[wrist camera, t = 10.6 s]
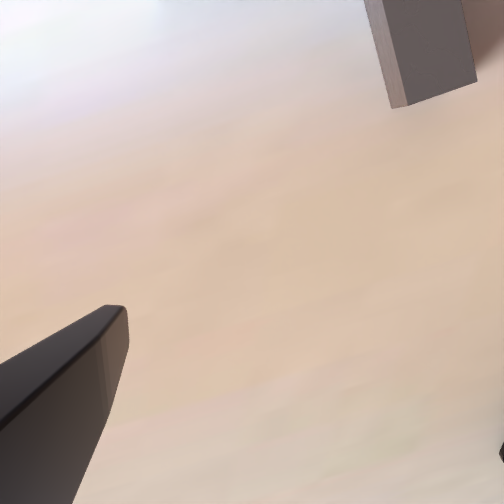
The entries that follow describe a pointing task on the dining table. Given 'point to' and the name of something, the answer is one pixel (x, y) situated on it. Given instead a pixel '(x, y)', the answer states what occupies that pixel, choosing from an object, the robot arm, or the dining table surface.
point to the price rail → (421, 48)
